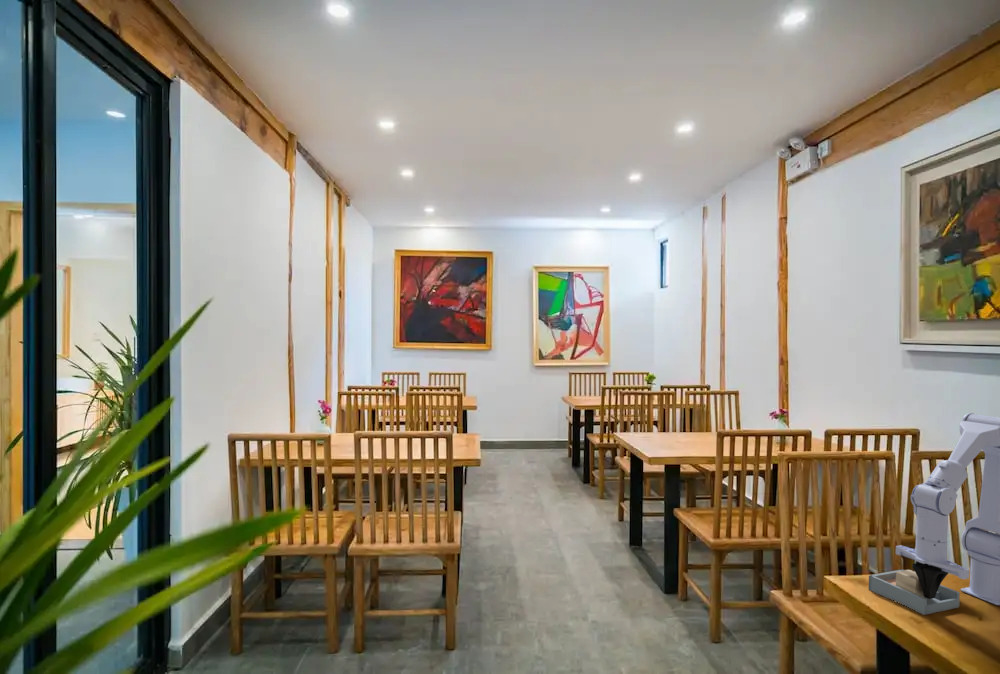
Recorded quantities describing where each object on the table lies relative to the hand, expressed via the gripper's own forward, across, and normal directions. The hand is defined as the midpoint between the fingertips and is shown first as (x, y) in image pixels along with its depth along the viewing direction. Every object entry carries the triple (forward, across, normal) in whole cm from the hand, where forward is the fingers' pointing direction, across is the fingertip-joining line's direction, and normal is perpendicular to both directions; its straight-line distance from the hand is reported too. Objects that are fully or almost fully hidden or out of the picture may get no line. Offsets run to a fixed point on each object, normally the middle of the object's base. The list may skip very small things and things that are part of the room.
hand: (929, 597), depth 128 cm
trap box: (+3, -5, +2) cm, 6 cm away
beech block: (+1, -4, 0) cm, 4 cm away
